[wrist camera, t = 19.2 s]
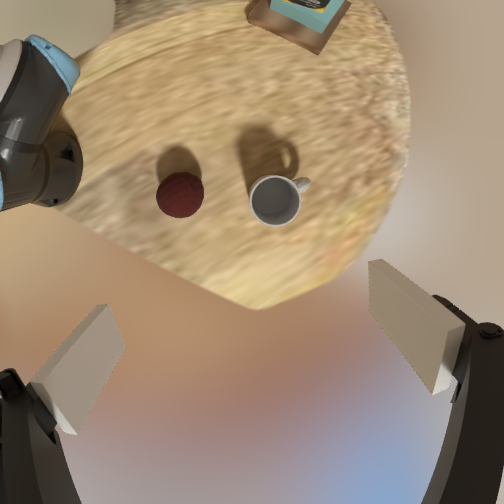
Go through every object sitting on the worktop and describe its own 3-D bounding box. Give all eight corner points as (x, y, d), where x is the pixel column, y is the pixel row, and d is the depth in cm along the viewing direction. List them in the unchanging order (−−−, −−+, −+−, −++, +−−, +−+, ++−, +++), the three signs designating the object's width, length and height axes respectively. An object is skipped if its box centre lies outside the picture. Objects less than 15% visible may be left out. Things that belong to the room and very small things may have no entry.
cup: (241, 186, 48) (240, 190, 39) (294, 160, 47) (304, 158, 38) (261, 223, 50) (264, 235, 41) (312, 197, 48) (326, 204, 40)
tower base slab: (248, 24, 40) (248, 14, 36) (281, -19, 36) (284, -29, 33) (316, 57, 42) (322, 49, 38) (345, 12, 39) (351, 3, 35)
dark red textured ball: (156, 188, 47) (142, 191, 41) (192, 163, 46) (183, 161, 40) (178, 223, 49) (168, 231, 42) (215, 198, 48) (210, 203, 41)
